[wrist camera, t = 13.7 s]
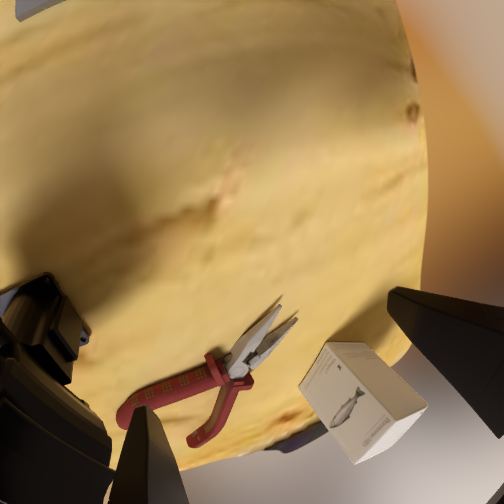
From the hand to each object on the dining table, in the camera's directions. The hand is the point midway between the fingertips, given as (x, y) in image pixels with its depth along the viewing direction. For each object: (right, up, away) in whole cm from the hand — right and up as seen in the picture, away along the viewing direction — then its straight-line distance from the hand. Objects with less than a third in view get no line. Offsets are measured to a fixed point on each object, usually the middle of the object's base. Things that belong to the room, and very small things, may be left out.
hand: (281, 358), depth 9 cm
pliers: (-5, -10, +19) cm, 22 cm away
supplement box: (+9, -10, +24) cm, 28 cm away
